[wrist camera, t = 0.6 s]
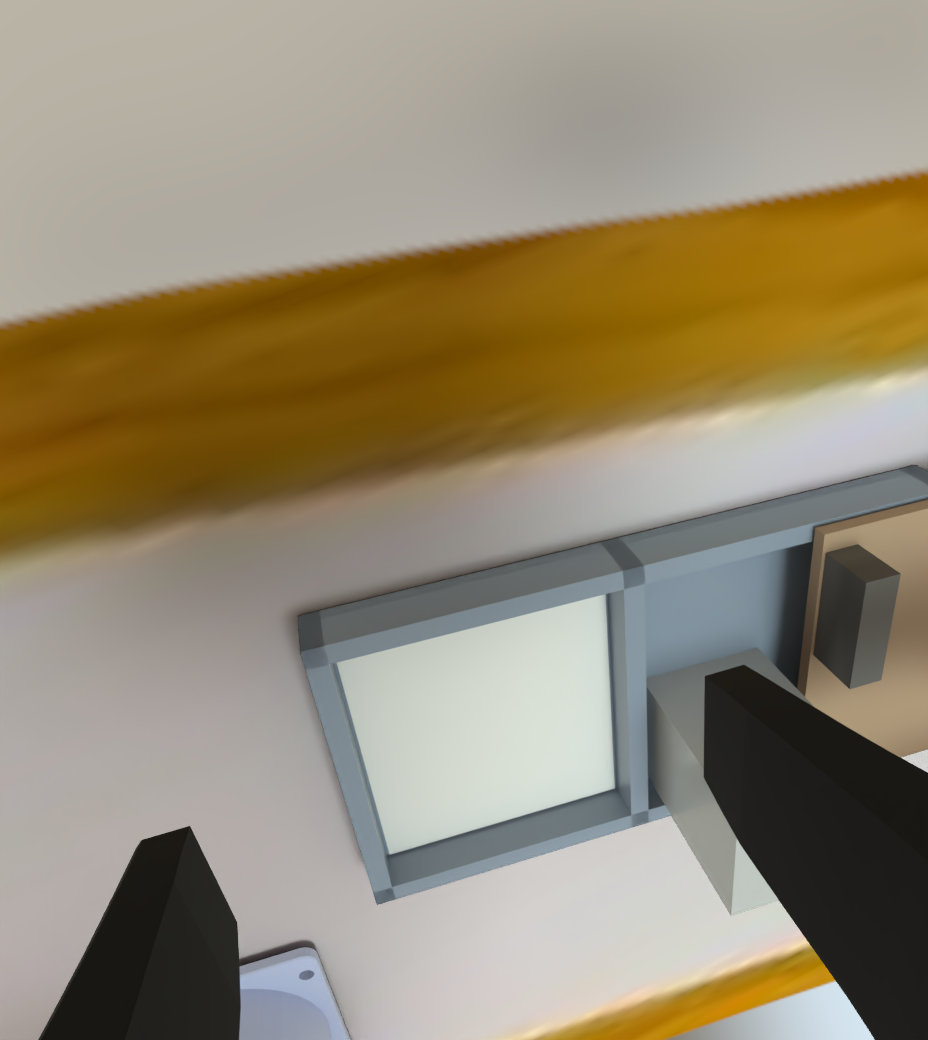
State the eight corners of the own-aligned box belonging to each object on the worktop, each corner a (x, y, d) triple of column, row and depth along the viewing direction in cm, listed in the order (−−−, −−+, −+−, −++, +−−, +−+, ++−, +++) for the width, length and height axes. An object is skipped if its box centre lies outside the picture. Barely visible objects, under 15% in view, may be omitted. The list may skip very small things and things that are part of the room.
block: (750, 737, 26) (860, 873, 21) (643, 769, 25) (731, 916, 21) (757, 647, 24) (879, 774, 19) (641, 679, 23) (737, 818, 19)
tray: (871, 714, 27) (903, 745, 26) (370, 861, 25) (376, 904, 23) (916, 465, 23) (958, 486, 21) (297, 615, 20) (299, 652, 18)
